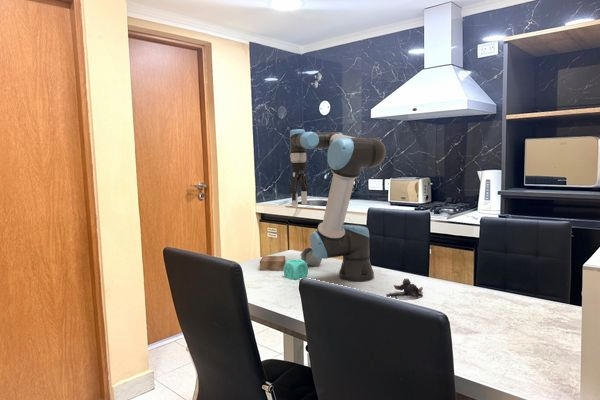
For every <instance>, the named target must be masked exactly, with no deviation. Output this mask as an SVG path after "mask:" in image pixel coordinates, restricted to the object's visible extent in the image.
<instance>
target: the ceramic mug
mask: <svg viewBox="0 0 600 400" xmlns="http://www.w3.org/2000/svg"><path fill="white" fill-rule="evenodd" d="M299 255H300V260H303V261H305V263H306V264H307V265H309V266H311V267H318V266H319V265H320V264H321V263H322V260H323V259H319V258H317V257H316V256H315V255H314V253H313V251H312V249H311V246H310V247H309V246H308V247H306V248H305V249H303V251H301V253H300V254H299Z"/></svg>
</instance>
